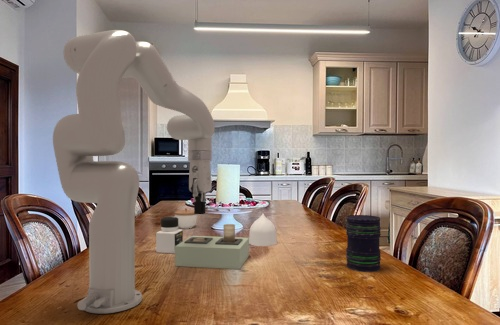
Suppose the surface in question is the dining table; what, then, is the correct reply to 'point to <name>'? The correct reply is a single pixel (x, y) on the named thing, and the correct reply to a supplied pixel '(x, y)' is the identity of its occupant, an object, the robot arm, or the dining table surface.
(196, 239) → the peg left
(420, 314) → the dining table surface
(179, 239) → the medicine bottle
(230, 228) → the peg right
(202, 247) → the sage block
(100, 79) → the robot arm
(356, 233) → the storage jar
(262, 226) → the teardrop
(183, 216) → the lidded jar
